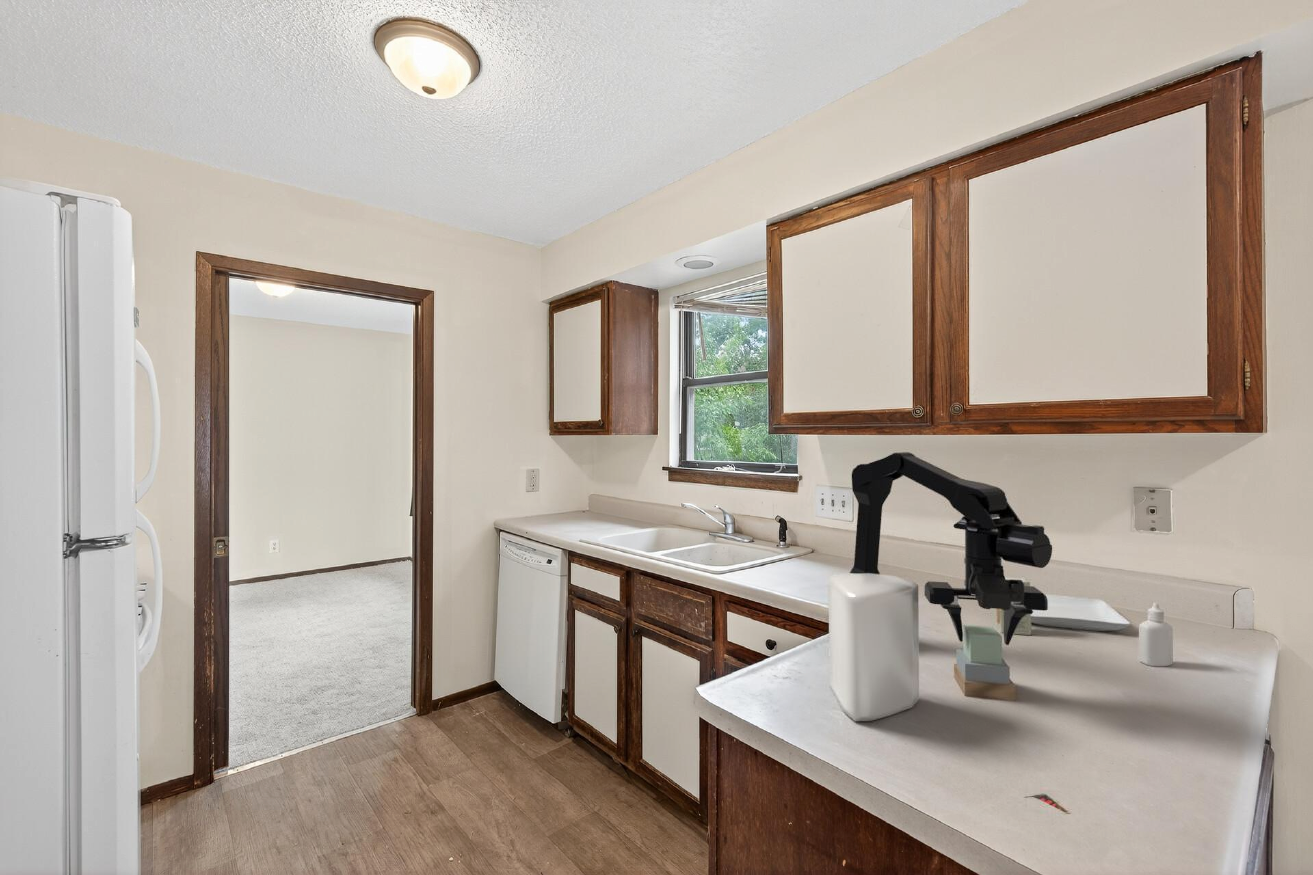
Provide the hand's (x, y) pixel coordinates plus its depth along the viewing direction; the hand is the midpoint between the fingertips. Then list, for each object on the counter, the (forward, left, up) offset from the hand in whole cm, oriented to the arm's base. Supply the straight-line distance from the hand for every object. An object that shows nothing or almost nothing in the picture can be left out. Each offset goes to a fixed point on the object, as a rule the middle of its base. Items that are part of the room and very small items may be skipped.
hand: (983, 642), depth 106 cm
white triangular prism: (-19, -9, -9) cm, 23 cm away
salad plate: (+30, +47, -9) cm, 56 cm away
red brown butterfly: (-2, -34, -9) cm, 35 cm away
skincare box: (+15, +34, -9) cm, 38 cm away
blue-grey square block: (0, 0, -6) cm, 6 cm away
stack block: (0, 0, -3) cm, 3 cm away
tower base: (0, 0, -9) cm, 9 cm away
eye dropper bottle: (+36, +20, -9) cm, 42 cm away
